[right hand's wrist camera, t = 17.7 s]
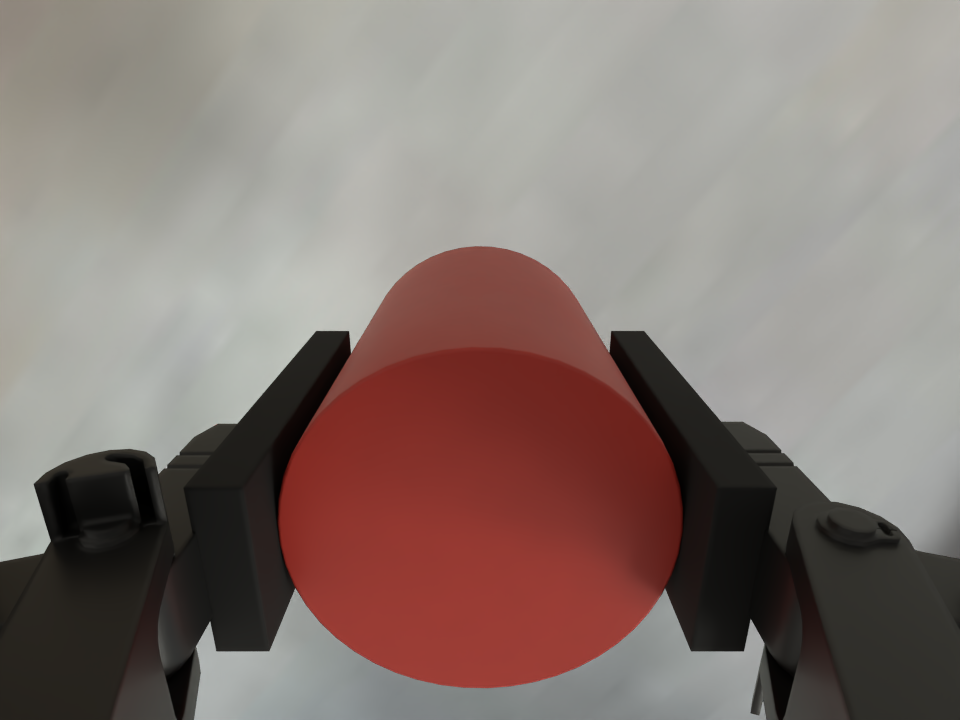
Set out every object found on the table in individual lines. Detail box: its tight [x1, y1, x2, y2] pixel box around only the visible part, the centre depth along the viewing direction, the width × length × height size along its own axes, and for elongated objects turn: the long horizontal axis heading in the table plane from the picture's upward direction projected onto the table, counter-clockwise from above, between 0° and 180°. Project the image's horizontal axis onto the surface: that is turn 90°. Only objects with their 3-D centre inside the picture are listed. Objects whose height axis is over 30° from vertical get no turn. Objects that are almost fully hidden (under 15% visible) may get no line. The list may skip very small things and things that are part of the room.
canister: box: [278, 246, 683, 688], centre depth 12 cm, size 6×6×8 cm
